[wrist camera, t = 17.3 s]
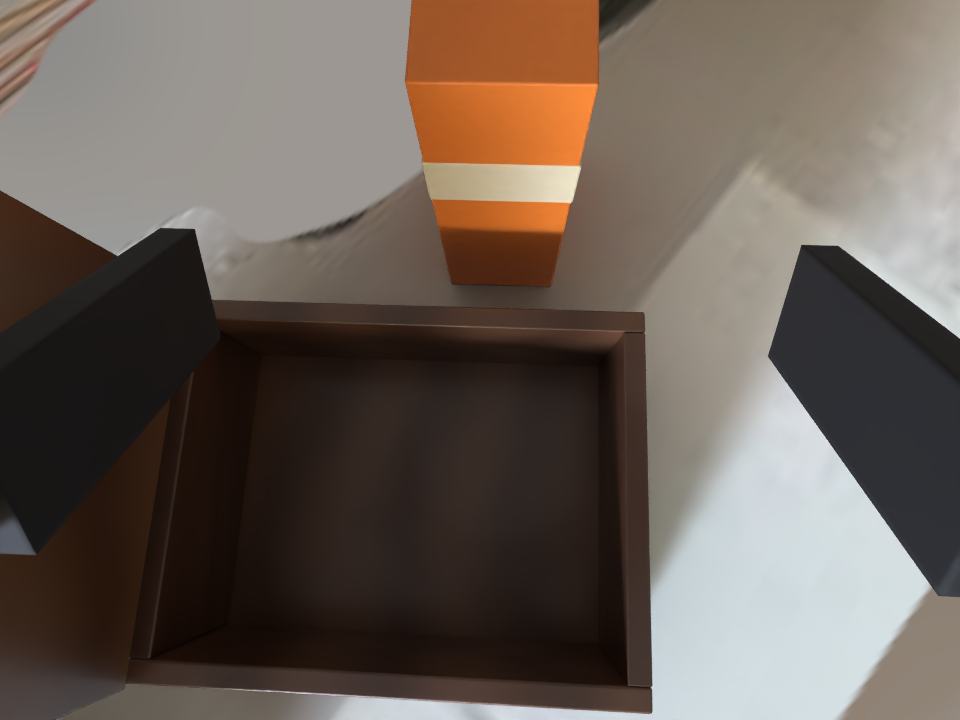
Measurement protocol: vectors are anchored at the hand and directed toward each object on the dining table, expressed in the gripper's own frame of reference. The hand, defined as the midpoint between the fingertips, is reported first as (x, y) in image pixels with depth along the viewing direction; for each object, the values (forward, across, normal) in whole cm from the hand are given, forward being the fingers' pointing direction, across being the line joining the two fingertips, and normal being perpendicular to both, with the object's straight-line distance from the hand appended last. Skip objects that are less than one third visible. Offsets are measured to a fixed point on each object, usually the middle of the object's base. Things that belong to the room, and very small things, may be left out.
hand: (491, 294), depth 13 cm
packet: (+18, 0, -4) cm, 18 cm away
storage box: (+8, -3, -14) cm, 17 cm away
